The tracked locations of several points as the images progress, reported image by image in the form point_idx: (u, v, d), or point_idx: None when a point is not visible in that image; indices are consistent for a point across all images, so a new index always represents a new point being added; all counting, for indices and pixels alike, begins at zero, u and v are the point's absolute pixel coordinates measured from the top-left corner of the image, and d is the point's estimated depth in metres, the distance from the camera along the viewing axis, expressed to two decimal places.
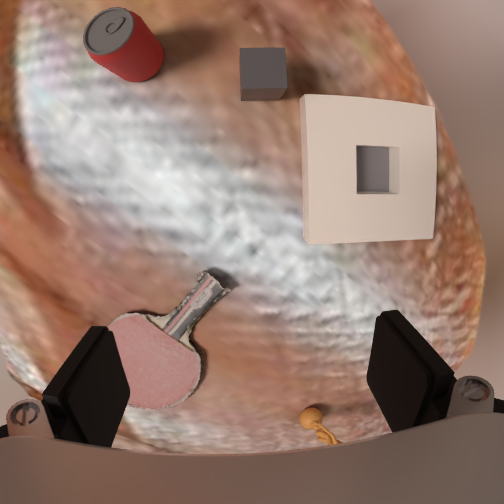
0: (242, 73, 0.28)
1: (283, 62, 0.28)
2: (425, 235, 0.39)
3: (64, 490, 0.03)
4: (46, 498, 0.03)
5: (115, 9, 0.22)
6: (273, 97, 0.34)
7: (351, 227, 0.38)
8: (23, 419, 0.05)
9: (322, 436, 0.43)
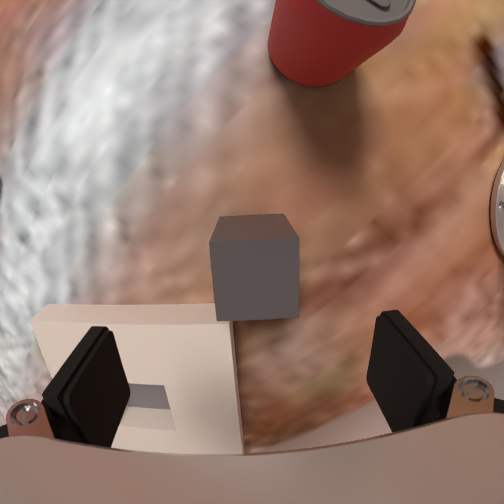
0: (242, 243, 0.16)
1: (267, 315, 0.18)
2: None
3: (64, 490, 0.03)
4: (46, 498, 0.03)
5: None
6: None
7: None
8: (23, 419, 0.05)
9: None
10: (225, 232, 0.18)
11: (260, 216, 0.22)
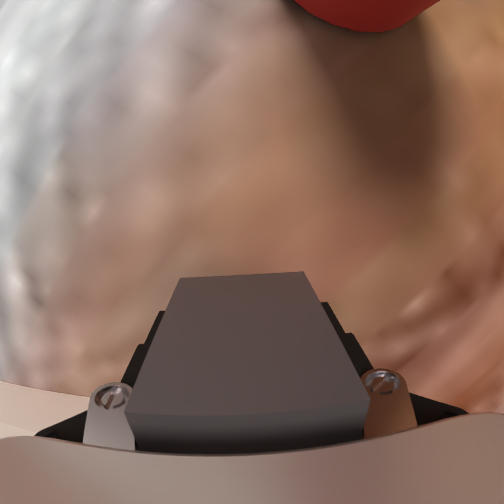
0: (212, 421, 0.05)
1: None
2: None
3: (64, 490, 0.03)
4: (46, 498, 0.03)
5: None
6: None
7: None
8: (110, 403, 0.07)
9: None
10: (175, 356, 0.07)
11: (258, 281, 0.11)
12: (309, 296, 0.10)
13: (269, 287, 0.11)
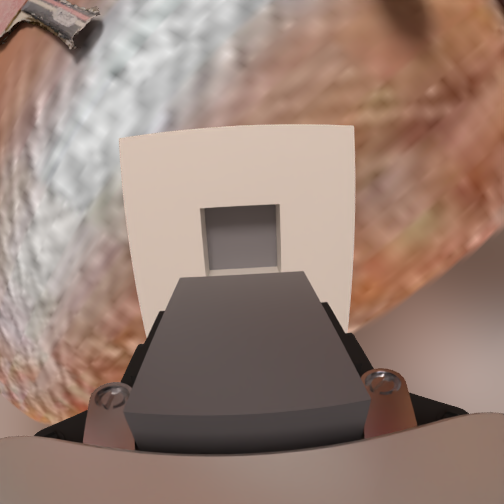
0: (212, 421, 0.05)
1: None
2: None
3: (64, 490, 0.03)
4: (46, 498, 0.03)
5: None
6: None
7: (147, 204, 0.23)
8: (110, 403, 0.07)
9: None
10: (175, 355, 0.07)
11: (258, 280, 0.11)
12: (309, 296, 0.10)
13: (269, 286, 0.11)
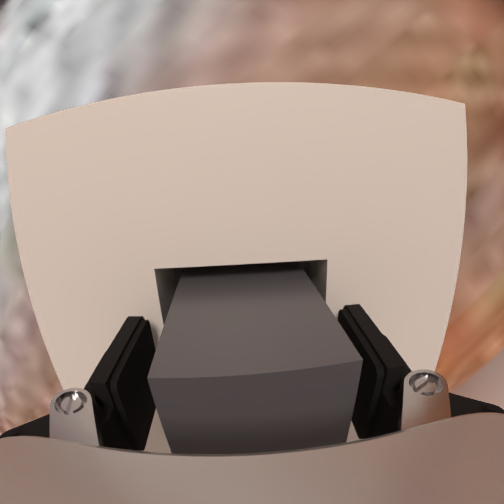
0: (227, 382, 0.06)
1: None
2: None
3: (64, 490, 0.03)
4: (46, 498, 0.03)
5: None
6: None
7: (55, 258, 0.10)
8: (68, 408, 0.06)
9: None
10: (188, 331, 0.08)
11: (256, 268, 0.12)
12: (304, 280, 0.11)
13: (267, 273, 0.12)
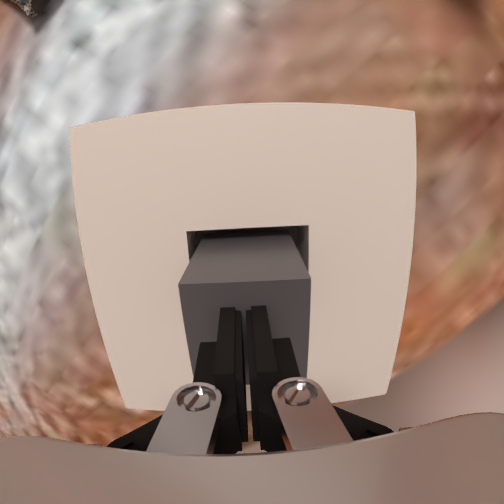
0: (226, 286, 0.11)
1: None
2: (127, 394, 0.18)
3: (64, 490, 0.03)
4: (46, 498, 0.03)
5: None
6: None
7: (109, 225, 0.15)
8: (194, 405, 0.07)
9: None
10: (205, 264, 0.13)
11: (257, 234, 0.17)
12: (288, 241, 0.15)
13: (263, 237, 0.16)
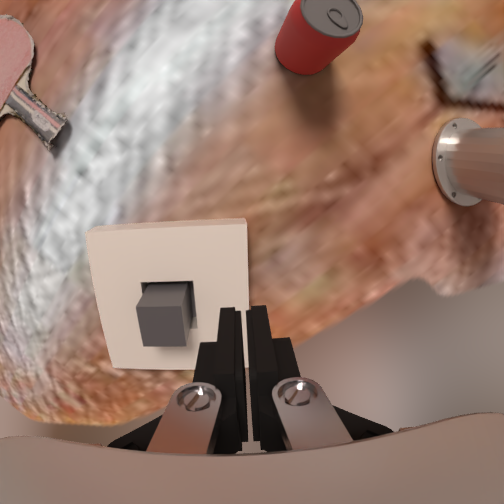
0: (152, 308, 0.30)
1: (169, 344, 0.31)
2: (114, 359, 0.37)
3: (64, 490, 0.03)
4: (46, 498, 0.03)
5: (359, 21, 0.20)
6: None
7: (106, 278, 0.34)
8: (194, 404, 0.07)
9: None
10: (146, 298, 0.31)
11: (173, 282, 0.36)
12: (184, 287, 0.34)
13: (175, 284, 0.35)
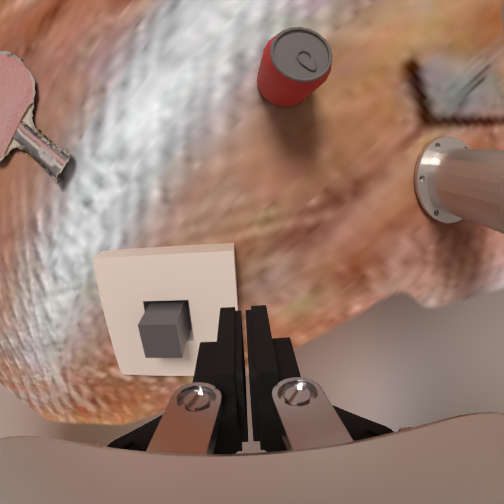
0: (151, 326, 0.34)
1: (167, 356, 0.35)
2: (122, 367, 0.42)
3: (64, 490, 0.03)
4: (46, 498, 0.03)
5: (328, 61, 0.24)
6: None
7: (113, 297, 0.38)
8: (194, 404, 0.07)
9: None
10: (147, 316, 0.36)
11: None
12: (181, 305, 0.39)
13: (173, 302, 0.40)
